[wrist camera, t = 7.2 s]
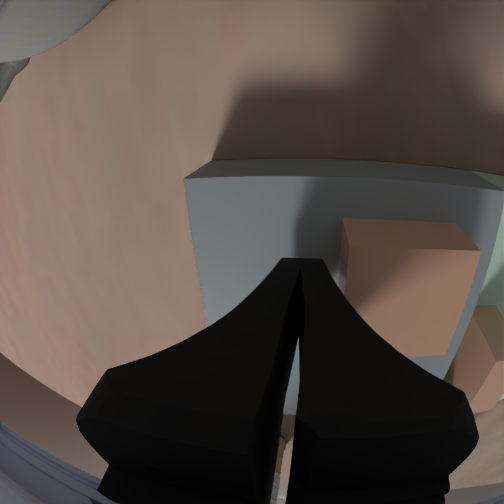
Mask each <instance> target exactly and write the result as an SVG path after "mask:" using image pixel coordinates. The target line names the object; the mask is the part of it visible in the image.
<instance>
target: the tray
mask: <svg viewBox="0 0 504 504" xmlns="http://www.w3.org/2000/svg"><path fill="white" fill-rule="evenodd" d="M471 172H473V173H475V174H477V175H479V176H480V177H482V178H484V179H486V180H487V181H489V182H491V183H492V184H494V185H496V186H497V187H499V188H500V189H502V190H504V176H501V175H495V174H489V173H483V172H476V171H471ZM490 305H496V306H497V308H498V309H499V311H500V312H501V314H502V316H503V317H504V205H503V210H502V215H501V220H500V225H499V229H498V233H497V238H496V242H495V246H494V249H493V253H492V257H491V260H490V264H489V267H488V271H487V274H486V277H485V280H484V283H483V286H482V289H481V292H480V295H479V298H478V301H477V304H476V306H490ZM443 380H444V381H445V382H447V383H449V384H451V385H453V384H452V381H451V377H450V374H449V371H447V373H446V375H445V377H444V379H443ZM501 399H504V393H503V394H502V396H501V397H500V398H499V400H501Z"/></svg>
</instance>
